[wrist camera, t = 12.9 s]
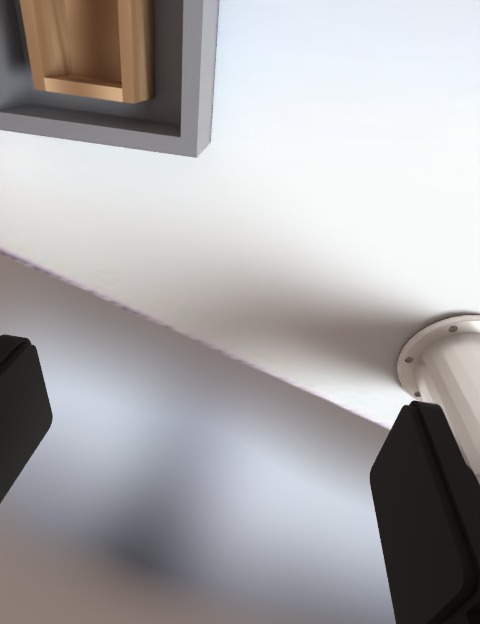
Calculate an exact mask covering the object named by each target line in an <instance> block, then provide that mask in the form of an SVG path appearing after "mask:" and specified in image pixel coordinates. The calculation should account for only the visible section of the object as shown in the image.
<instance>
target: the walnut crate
mask: <svg viewBox="0 0 480 624" xmlns="http://www.w3.org/2000/svg"><path fill="white" fill-rule="evenodd" d="M20 5H21V11H22V17H23V23H24V29H25V35H26V41H27V47H28V53H29V59H30V65H31V71H32V77H33V83H34V89H35V90H42V91H49V92H56V93H63V94H70V95H77V96H84V97H91V98H98V99H105V100H112V101H119V102H126V103H133V104H135V103H138V102H141V101H145V100H148V99H151V98H154V97H155V18H154V0H20Z"/></svg>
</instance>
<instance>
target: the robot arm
mask: <svg viewBox="0 0 480 624" xmlns="http://www.w3.org/2000/svg"><path fill="white" fill-rule="evenodd" d="M397 373H398V376H399V380H400V382H401V384H402V387H403V388H404V389H405V391H406V392H407V393H408V394H409V395H410V396H412V397H413V398H414V399H416V400H418V401H412V402H411V403H410V405H404V406H403V407H402V409H401V411H400V413H399V415H398V417H397V419H396V421H395V423H394V425H393V427H392V429H391V431H390V433H389V435H388V437H387V438H386V440H385V442H384V444H383V447H382V448H381V450H380V452H379V454H378V456H377V458H376V460H375V463H374V464H373V466H372V468H371V472H370V485H371V490H372V495H373V501H374V506H375V512H376V517H377V523H378V528H379V534H380V539H381V544H382V550H383V555H384V560H385V565H386V571H387V577H388V582H389V587H390V593H391V598H392V604H393V608H394V614H395V620H396V624H480V316H479V315H463V316H457V317H451V318H448V319H444V320H441V321H438V322H436V323H434V324H431V325H429V326H427V327H426V328H424V329H422V330H421V331H419V332H418V333H417V334H416V335H414V336H413V337H412V338H411V339H410V340H409V341H408V342H407V344H406V345H405V346H404V347H403V349H402V351H401V353H400V355H399V358H398V362H397ZM51 423H52V411H51V407H50V403H49V399H48V395H47V390H46V386H45V382H44V378H43V375H42V370H41V366H40V362H39V357H38V354H37V349H36V347H35V346H34V345H31V342H30V340H29V339H27V338H23V337H17V336H10V335H1V336H0V503H1V501H2V499H3V498H4V497H5V495H6V494H7V492H8V491H9V489H10V488H11V486H12V485H13V483H14V482H15V480H16V479H17V477H18V476H19V474H20V473H21V471H22V469H23V468H24V466H25V464H26V463H27V462H28V460H29V459H30V457H31V456H32V454H33V453H34V451H35V450H36V448H37V447H38V445H39V443H40V442H41V441H42V439H43V437H44V436H45V434H46V433H47V431H48V430H49V428H50V426H51Z"/></svg>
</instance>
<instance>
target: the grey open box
mask: <svg viewBox="0 0 480 624" xmlns="http://www.w3.org/2000/svg"><path fill="white" fill-rule="evenodd" d="M218 13H219V0H154V18H155V97H154V98H151V99H148V100H145V101H141V102H138V103H135V104H133V103H126V102H119V101H112V100H105V99H98V98H91V97H84V96H77V95H70V94H63V93H56V92H49V91H42V90H35V89H34V83H33V77H32V71H31V65H30V59H29V53H28V47H27V41H26V35H25V29H24V23H23V17H22V11H21V5H20V0H0V130H5V131H12V132H19V133H26V134H33V135H40V136H47V137H54V138H61V139H68V140H75V141H83V142H90V143H97V144H104V145H111V146H118V147H125V148H132V149H139V150H146V151H153V152H160V153H168V154H175V155H182V156H189V157H196V158H197V157H198V155H199V154H200V153H201V152H202V151H203V150H204V149H205V148H206V147H207V146H208V144H209V143H210V142H211V126H212V110H213V94H214V78H215V62H216V45H217V29H218Z"/></svg>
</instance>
